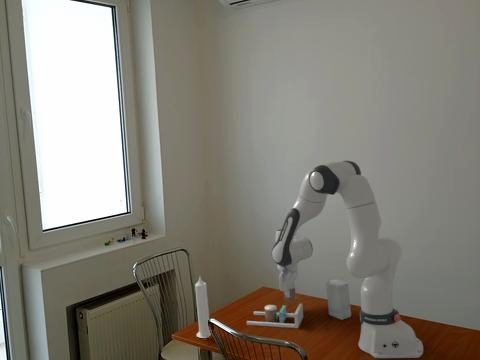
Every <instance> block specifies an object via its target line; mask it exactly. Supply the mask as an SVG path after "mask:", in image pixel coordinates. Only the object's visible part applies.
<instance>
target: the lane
mask: <svg viewBox="0 0 480 360" xmlns="http://www.w3.org/2000/svg"><path fill="white" fill-rule="evenodd" d="M303 306H304V305H303V302H302V303H299V304H298V305H297V308H296V310H295V312H294V313H293V312H291V313H289V312H286V314H289V316H286V318H294V323H287V322H286V323H285V322H284V323H280V322H275V323H272V322H266V321H253V320H252V321H251V320H246V325H247V326H257V327H258V326H259V327H275V328H289V329H291V328H292V329H299V327H300V325H301V323H302V321H303V319H304V309H303ZM253 315H254V316H264V317H265V311H253ZM277 317H279V312H277Z"/></svg>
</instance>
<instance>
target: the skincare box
mask: <svg viewBox="0 0 480 360" xmlns="http://www.w3.org/2000/svg"><path fill="white" fill-rule="evenodd" d="M325 284H326V285H325V286H326V296H327V305H328V307H327V308H328V315H329V316H332V317H334V318H336V319H338V320H341V321H342V320H344V319H348V318H351V317H352V309H351V300H350V292H349V291H350V290H349V282H346V281H343V280H340V279H336V278H335V279H333V280H332V279H331V280H330V281H329V280H328V281H326V282H325Z"/></svg>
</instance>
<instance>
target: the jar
mask: <svg viewBox="0 0 480 360" xmlns="http://www.w3.org/2000/svg"><path fill="white" fill-rule="evenodd" d="M283 294H284V295H283V296H284V300H285V301H287V302H294V301H296V300H297V294H296V285H295V283H294V284H292V286H291V287H290V295H291V296H290V297H286V293H285V291H283Z"/></svg>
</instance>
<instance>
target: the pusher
mask: <svg viewBox="0 0 480 360" xmlns="http://www.w3.org/2000/svg"><path fill="white" fill-rule="evenodd" d="M278 313H279V316H278V318H279V323H285V321H286V319H287V317H286V316H289V314H286V313H287V305H283V304H282V307H281V308H280V310H279V312H278Z"/></svg>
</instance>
